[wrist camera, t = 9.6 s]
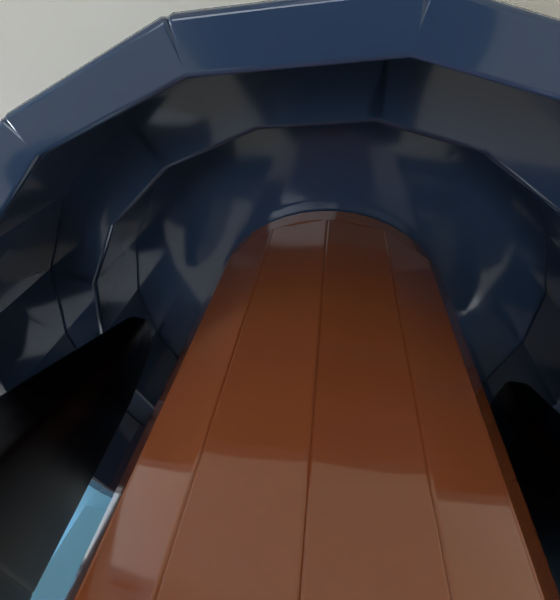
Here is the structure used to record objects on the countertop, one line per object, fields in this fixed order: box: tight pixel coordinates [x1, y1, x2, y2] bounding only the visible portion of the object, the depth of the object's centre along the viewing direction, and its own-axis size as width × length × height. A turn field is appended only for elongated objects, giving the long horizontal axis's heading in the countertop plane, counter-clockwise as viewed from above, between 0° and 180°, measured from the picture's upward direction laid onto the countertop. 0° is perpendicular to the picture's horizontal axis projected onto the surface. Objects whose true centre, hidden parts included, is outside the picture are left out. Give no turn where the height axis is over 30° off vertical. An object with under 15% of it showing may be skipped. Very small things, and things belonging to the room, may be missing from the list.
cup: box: [64, 211, 560, 600], centre depth 8 cm, size 6×6×8 cm
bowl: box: [0, 0, 560, 498], centre depth 9 cm, size 14×14×5 cm
